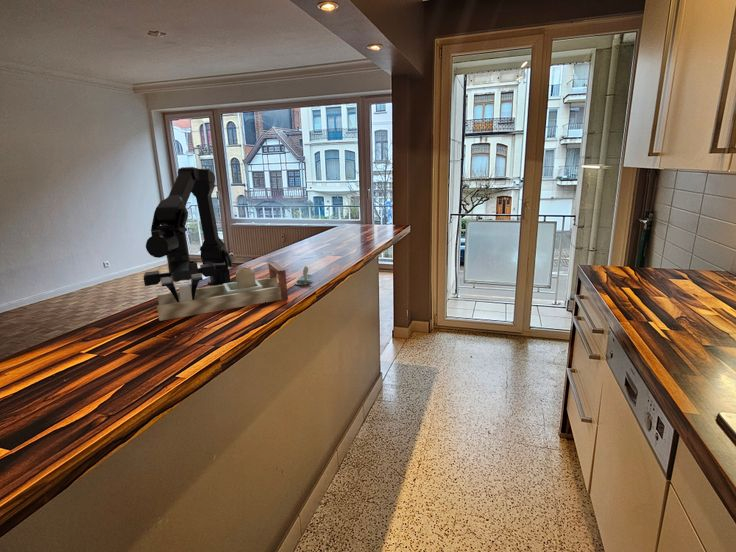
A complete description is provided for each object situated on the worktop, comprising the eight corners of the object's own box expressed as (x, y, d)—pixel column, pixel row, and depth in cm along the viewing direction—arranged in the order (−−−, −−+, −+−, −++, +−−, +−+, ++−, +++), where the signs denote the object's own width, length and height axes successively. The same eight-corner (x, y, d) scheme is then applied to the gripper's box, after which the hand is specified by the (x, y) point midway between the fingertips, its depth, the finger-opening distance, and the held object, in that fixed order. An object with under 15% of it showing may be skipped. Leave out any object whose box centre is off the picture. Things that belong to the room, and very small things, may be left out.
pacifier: (291, 286, 138) (309, 286, 138) (289, 269, 137) (306, 268, 136) (297, 281, 145) (314, 280, 145) (295, 264, 144) (312, 263, 143)
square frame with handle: (183, 314, 114) (179, 290, 112) (181, 304, 123) (177, 282, 121) (263, 300, 123) (261, 278, 122) (256, 292, 132) (254, 271, 130)
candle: (259, 296, 129) (256, 265, 126) (253, 301, 123) (249, 269, 121) (243, 296, 129) (239, 265, 127) (235, 301, 124) (231, 269, 121)
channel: (159, 321, 110) (153, 289, 108) (159, 307, 122) (154, 278, 119) (287, 298, 125) (285, 270, 123) (277, 288, 137) (274, 262, 134)
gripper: (138, 259, 103) (149, 317, 107) (215, 250, 111) (223, 304, 115) (139, 252, 113) (150, 305, 117) (210, 244, 121) (218, 294, 125)
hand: (186, 302), depth 118 cm, fingers open, 3 cm apart
